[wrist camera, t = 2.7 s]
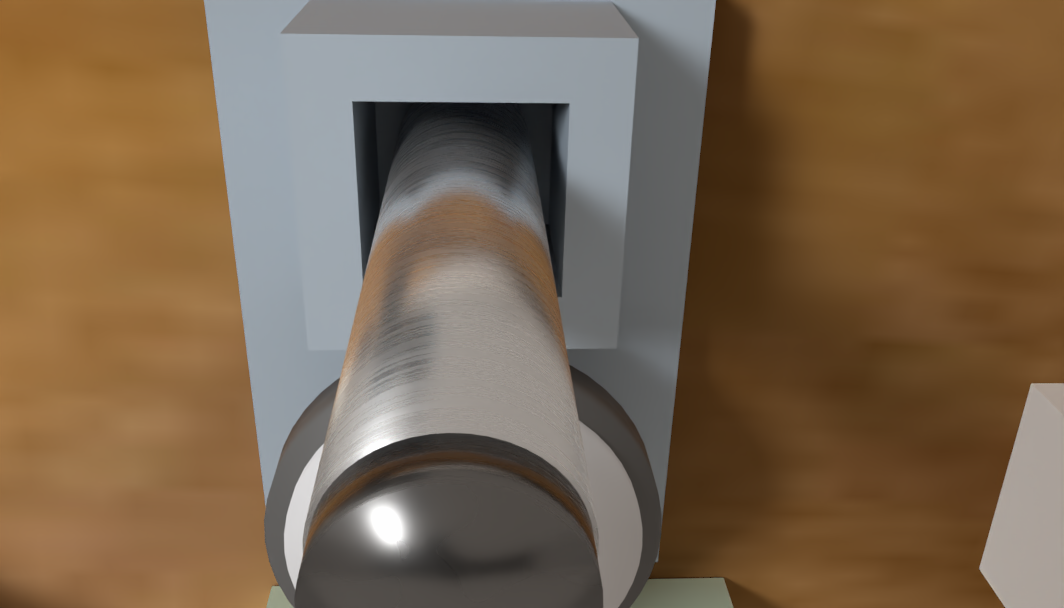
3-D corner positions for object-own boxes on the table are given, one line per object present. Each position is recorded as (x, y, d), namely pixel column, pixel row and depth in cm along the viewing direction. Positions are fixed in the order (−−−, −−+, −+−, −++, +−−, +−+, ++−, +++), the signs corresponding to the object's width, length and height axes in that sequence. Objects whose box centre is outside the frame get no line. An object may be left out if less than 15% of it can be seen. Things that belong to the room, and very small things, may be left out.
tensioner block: (218, -30, 22) (122, 27, 16) (702, -22, 23) (785, 36, 17) (282, 534, 29) (232, 720, 23) (649, 528, 30) (693, 708, 24)
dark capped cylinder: (396, 77, 22) (274, 481, 8) (531, 78, 22) (618, 476, 9) (401, 203, 23) (302, 725, 10) (528, 204, 23) (599, 717, 10)
